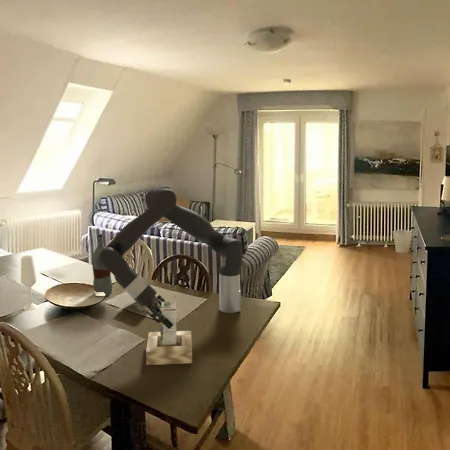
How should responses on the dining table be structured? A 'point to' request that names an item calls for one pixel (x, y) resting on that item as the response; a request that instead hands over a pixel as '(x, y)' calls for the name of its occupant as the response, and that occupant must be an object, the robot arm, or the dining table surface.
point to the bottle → (101, 272)
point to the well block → (169, 349)
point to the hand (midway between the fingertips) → (173, 322)
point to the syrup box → (171, 314)
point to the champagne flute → (28, 278)
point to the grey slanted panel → (135, 305)
